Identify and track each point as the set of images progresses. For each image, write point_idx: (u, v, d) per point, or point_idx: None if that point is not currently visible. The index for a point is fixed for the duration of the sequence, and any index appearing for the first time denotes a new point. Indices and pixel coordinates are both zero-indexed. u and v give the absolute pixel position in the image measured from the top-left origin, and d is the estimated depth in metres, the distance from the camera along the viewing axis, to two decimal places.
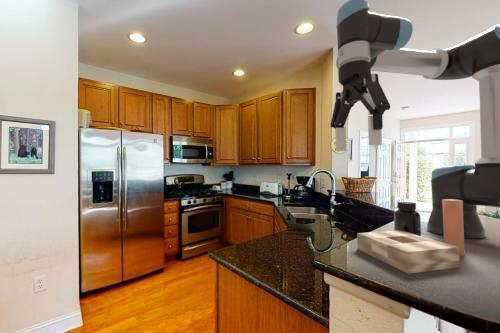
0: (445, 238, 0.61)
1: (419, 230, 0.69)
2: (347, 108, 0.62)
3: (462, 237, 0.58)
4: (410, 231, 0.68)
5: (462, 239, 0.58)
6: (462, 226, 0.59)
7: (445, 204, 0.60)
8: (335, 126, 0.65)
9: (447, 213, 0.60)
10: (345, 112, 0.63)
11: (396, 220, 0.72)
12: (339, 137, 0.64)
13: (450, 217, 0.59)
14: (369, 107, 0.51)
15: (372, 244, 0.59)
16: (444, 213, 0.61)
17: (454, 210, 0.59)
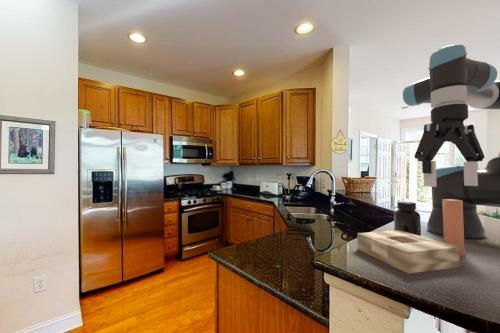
0: (445, 238, 0.61)
1: (419, 230, 0.69)
2: (460, 144, 0.62)
3: (462, 237, 0.58)
4: (410, 231, 0.68)
5: (462, 239, 0.58)
6: (462, 226, 0.59)
7: (445, 204, 0.60)
8: None
9: (447, 213, 0.60)
10: (462, 147, 0.62)
11: (396, 220, 0.72)
12: (466, 171, 0.63)
13: (450, 217, 0.59)
14: None
15: (372, 244, 0.59)
16: (444, 213, 0.61)
17: (454, 210, 0.59)
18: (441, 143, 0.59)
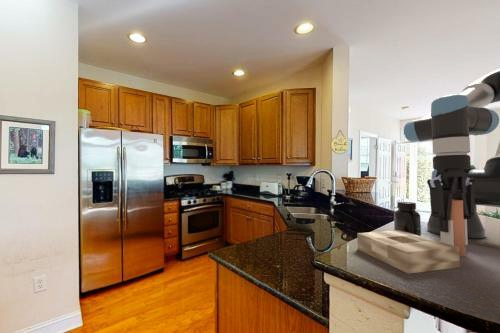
0: None
1: (419, 230, 0.69)
2: (457, 195, 0.61)
3: (462, 237, 0.58)
4: (410, 231, 0.68)
5: (462, 239, 0.58)
6: (462, 226, 0.59)
7: None
8: None
9: None
10: (457, 199, 0.61)
11: (396, 220, 0.72)
12: None
13: (450, 217, 0.59)
14: None
15: (372, 244, 0.59)
16: None
17: (455, 210, 0.59)
18: (451, 197, 0.59)
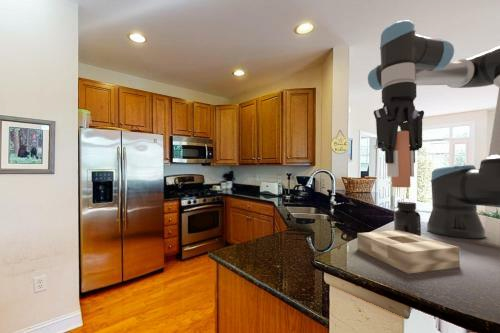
0: None
1: (419, 230, 0.69)
2: (404, 127, 0.59)
3: (407, 168, 0.57)
4: (410, 231, 0.68)
5: (407, 170, 0.57)
6: (408, 157, 0.57)
7: None
8: None
9: None
10: None
11: (396, 220, 0.72)
12: None
13: (396, 148, 0.58)
14: None
15: (372, 244, 0.59)
16: None
17: (400, 141, 0.57)
18: (396, 127, 0.57)
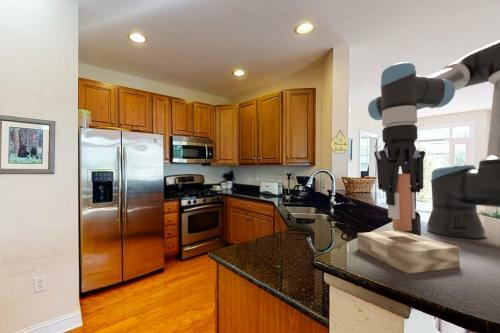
0: None
1: (419, 230, 0.69)
2: (405, 167, 0.59)
3: (409, 211, 0.56)
4: (410, 231, 0.68)
5: (408, 213, 0.56)
6: (409, 200, 0.57)
7: None
8: None
9: None
10: (406, 172, 0.59)
11: None
12: None
13: (397, 191, 0.57)
14: None
15: (372, 244, 0.59)
16: None
17: (401, 183, 0.57)
18: (397, 169, 0.57)
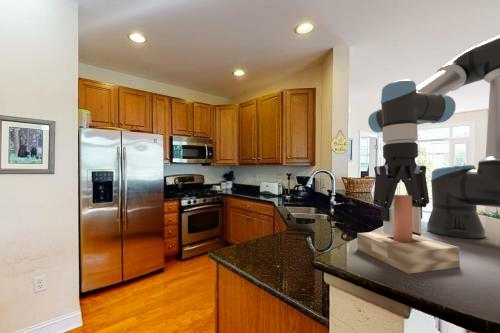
0: None
1: None
2: (408, 184, 0.59)
3: (410, 233, 0.56)
4: None
5: (410, 235, 0.56)
6: (410, 222, 0.57)
7: (395, 199, 0.58)
8: None
9: (396, 208, 0.58)
10: (409, 188, 0.59)
11: None
12: None
13: (398, 212, 0.57)
14: None
15: (372, 244, 0.59)
16: (394, 208, 0.59)
17: (403, 206, 0.57)
18: (395, 186, 0.57)
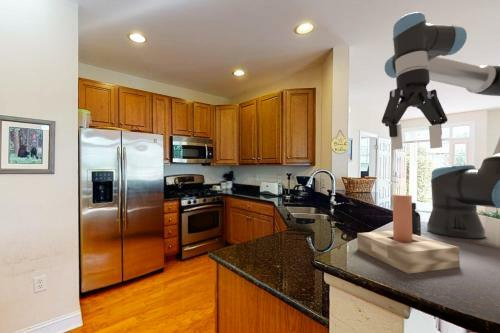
0: (394, 235, 0.58)
1: (419, 230, 0.69)
2: (425, 108, 0.65)
3: (410, 234, 0.56)
4: None
5: (410, 236, 0.56)
6: (410, 222, 0.56)
7: (394, 200, 0.58)
8: None
9: (396, 209, 0.58)
10: (426, 111, 0.65)
11: None
12: (431, 135, 0.66)
13: (398, 213, 0.57)
14: None
15: (372, 244, 0.59)
16: (393, 209, 0.59)
17: (402, 206, 0.57)
18: (405, 107, 0.62)
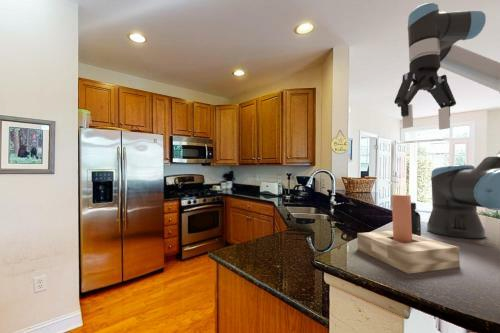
0: (393, 235, 0.59)
1: (419, 230, 0.69)
2: (435, 92, 0.70)
3: (409, 233, 0.56)
4: None
5: (409, 235, 0.56)
6: (409, 222, 0.57)
7: (393, 199, 0.58)
8: None
9: (395, 208, 0.58)
10: (436, 95, 0.71)
11: None
12: (440, 117, 0.72)
13: (397, 213, 0.57)
14: None
15: (372, 244, 0.59)
16: (393, 209, 0.59)
17: (401, 206, 0.57)
18: (417, 89, 0.68)
